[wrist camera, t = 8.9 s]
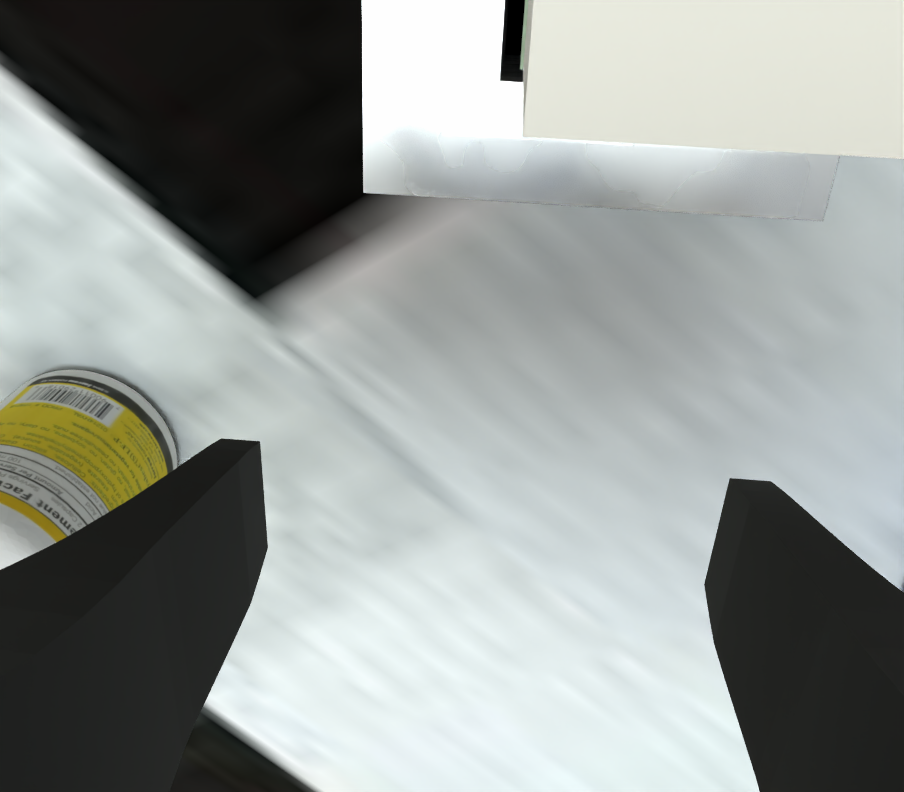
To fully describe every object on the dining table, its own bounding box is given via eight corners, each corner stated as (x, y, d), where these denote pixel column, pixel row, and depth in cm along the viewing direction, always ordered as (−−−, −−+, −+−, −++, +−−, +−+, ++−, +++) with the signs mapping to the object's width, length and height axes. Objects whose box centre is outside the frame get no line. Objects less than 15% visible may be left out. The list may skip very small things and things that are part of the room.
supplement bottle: (83, 537, 27) (-122, 805, 19) (-27, 404, 25) (-317, 636, 16) (218, 481, 26) (62, 743, 17) (112, 335, 24) (-126, 550, 15)
